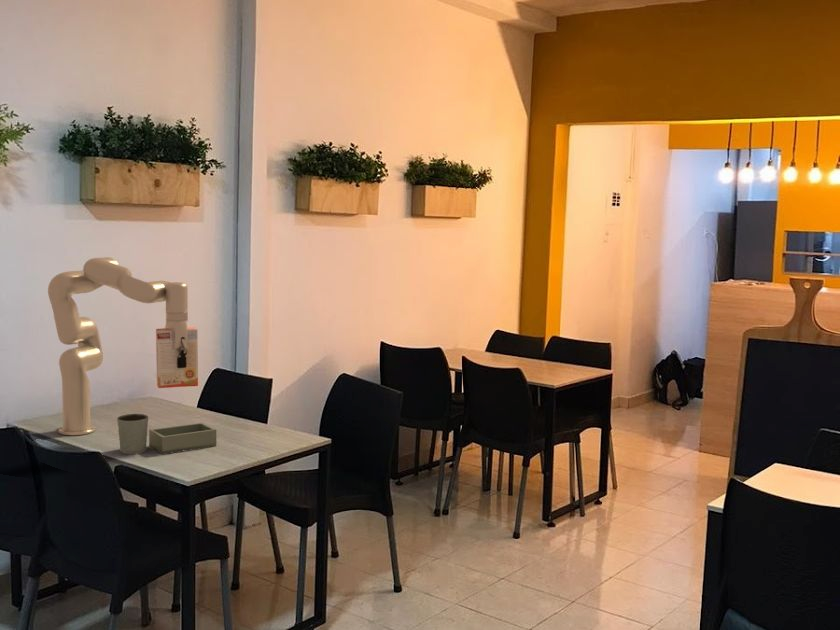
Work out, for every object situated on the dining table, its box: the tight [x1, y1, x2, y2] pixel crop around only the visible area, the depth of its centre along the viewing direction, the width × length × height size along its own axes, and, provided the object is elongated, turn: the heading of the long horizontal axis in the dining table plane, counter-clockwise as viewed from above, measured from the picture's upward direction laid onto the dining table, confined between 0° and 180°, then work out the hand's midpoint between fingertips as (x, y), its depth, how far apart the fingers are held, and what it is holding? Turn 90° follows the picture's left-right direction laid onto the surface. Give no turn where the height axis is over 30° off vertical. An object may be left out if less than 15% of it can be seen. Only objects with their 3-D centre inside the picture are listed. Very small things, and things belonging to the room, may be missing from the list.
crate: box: [148, 422, 217, 455], centre depth 302 cm, size 12×20×6 cm, turn 129°
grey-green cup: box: [116, 413, 149, 455], centre depth 294 cm, size 10×10×12 cm
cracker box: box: [155, 327, 199, 389], centre depth 303 cm, size 14×6×21 cm, turn 112°
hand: (177, 365), depth 303 cm, fingers closed on cracker box, 7 cm apart
